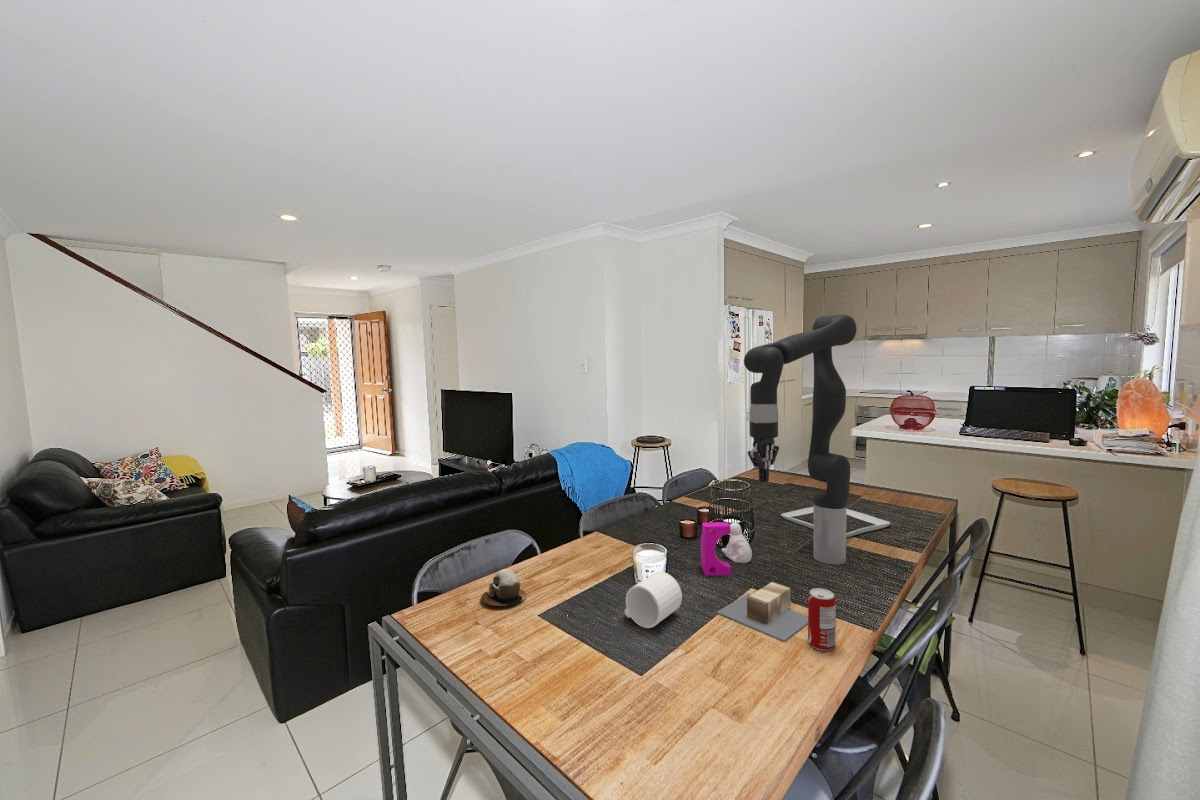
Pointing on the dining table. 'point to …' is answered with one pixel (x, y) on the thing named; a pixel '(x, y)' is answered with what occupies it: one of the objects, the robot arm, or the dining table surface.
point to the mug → (653, 599)
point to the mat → (776, 628)
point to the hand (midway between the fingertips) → (763, 481)
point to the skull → (504, 589)
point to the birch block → (768, 602)
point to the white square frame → (871, 519)
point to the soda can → (821, 619)
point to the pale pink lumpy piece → (737, 546)
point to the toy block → (713, 548)
